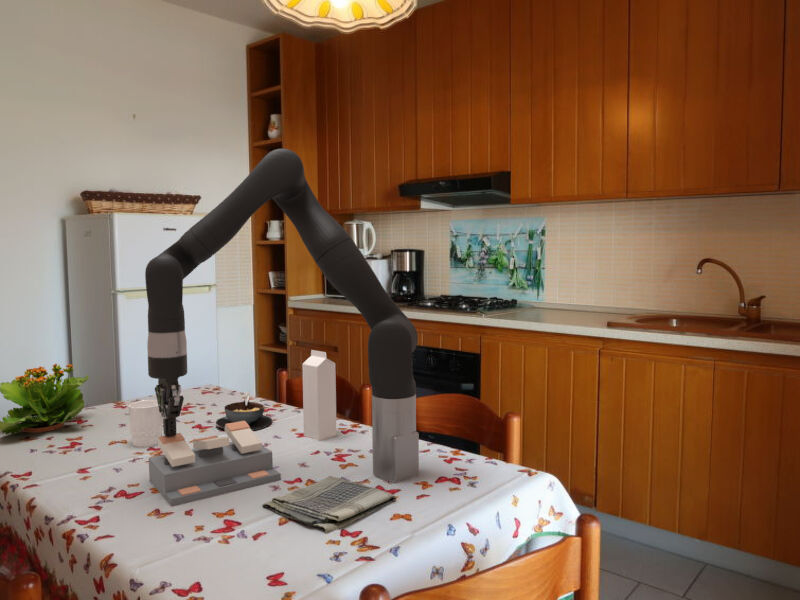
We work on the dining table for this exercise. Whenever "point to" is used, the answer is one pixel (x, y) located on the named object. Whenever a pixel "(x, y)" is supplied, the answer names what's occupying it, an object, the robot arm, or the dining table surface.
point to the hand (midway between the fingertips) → (170, 435)
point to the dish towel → (330, 503)
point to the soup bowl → (245, 414)
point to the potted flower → (42, 400)
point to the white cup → (145, 423)
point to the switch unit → (211, 473)
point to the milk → (319, 396)
